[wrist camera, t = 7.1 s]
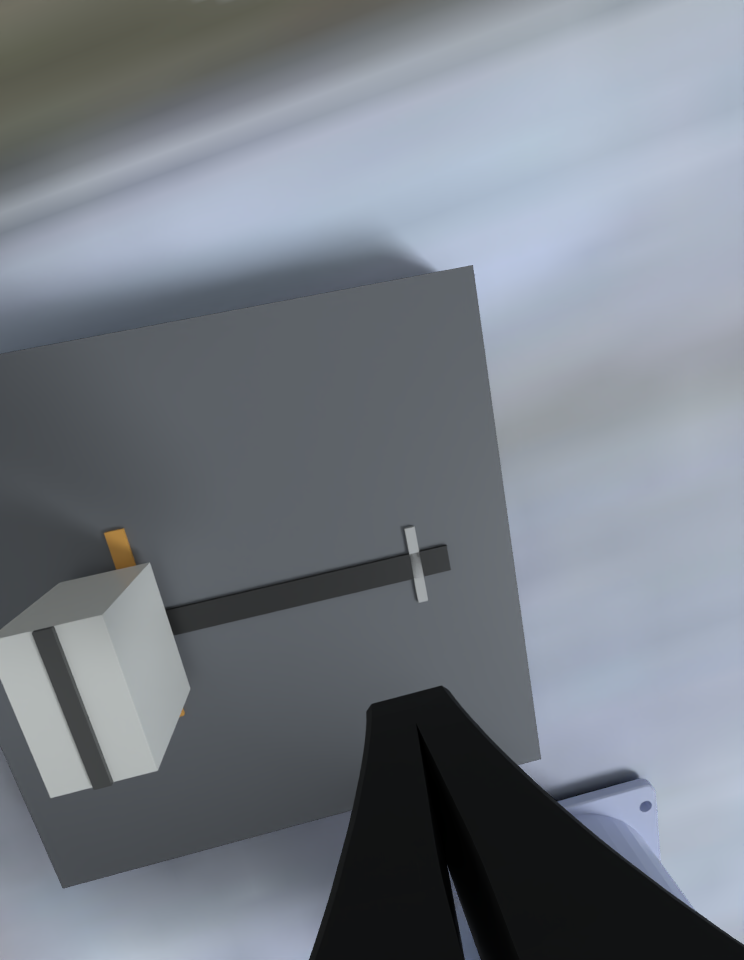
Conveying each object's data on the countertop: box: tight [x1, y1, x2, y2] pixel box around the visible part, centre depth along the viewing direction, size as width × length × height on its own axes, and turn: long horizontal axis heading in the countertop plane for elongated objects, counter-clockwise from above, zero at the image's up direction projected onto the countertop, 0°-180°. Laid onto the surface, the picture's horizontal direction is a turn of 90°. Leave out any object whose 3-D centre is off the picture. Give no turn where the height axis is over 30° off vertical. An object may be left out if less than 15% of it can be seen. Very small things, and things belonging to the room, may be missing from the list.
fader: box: [0, 562, 190, 798], centre depth 12 cm, size 4×2×3 cm, turn 11°
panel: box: [0, 265, 541, 888], centre depth 15 cm, size 16×16×2 cm
